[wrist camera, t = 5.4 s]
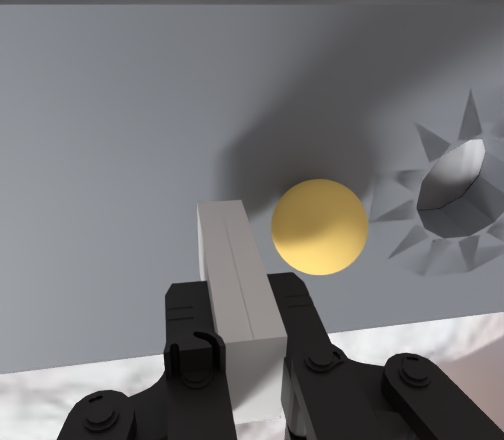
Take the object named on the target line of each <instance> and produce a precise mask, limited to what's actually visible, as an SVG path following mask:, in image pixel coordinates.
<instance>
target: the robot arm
mask: <svg viewBox="0 0 504 440" xmlns="http://www.w3.org/2000/svg"><path fill="white" fill-rule="evenodd" d="M197 217H198V243H199V269H200V277H201V281H195V282H184V283H172V284H171V286H170V288H169V289H168V291H167V293H166V295H165V320H166V344H165V348H164V352H163V354H164V365H165V371H164V373H163V375H162V377H161V378H160V379H159V380H158V382H156V383H155V384H154V385H153V386H151V387H150V388H148V389H146V390H144V391H142V392H140V393H138V394H135V395H133V396H130V397H127V396H126V395H125V394H123V393H122V392H118V391H114V390H104V391H97V392H95V393H92V394H90V395H87V396H85V397H84V398H83V399H82V400H80V401H79V402H78V403H76V404H75V406H74V407H73V409H72V410H71V411H70V413H69V414H68V416H67V419H66V421H65V423H64V425H63V427H62V429H61V431H60V434H59V436H58V438H57V440H237V435H236V429H235V424H239V423H247V422H254V421H261V420H268V419H276V418H281V409H282V407H283V410H284V414H285V418H286V429H285V440H504V432H503V431H502V430H501V429H500V428H499V427H498V426H497V425H496V424H495V423H494V422H493V421H492V420H491V419H490V418H489V417H488V416H487V415H486V414H485V413H484V412H483V411H482V410H481V409H480V408H479V407H478V406H477V405H476V404H475V403H474V402H473V401H472V400H471V399H470V398H469V397H468V396H467V395H466V394H465V393H464V392H463V391H462V390H461V389H460V388H459V387H458V386H457V385H456V384H455V383H454V382H453V381H452V380H451V379H450V378H449V377H448V376H447V375H446V374H445V373H444V372H443V371H442V370H441V369H440V368H439V367H438V366H437V365H435V364H434V363H433V362H431V361H430V360H429V359H427V358H424V357H422V356H420V355H417V354H411V353H401V354H395V355H394V356H392V357H390V358H389V359H388V360H387V362H386V364H385V366H378V365H371V364H364V363H360V362H356V361H353V360H351V359H348V358H347V356H346V355H345V354H344V352H343V351H342V350H341V349H339V348H338V347H336V346H335V345H333V344H332V343H331V341H330V339H329V337H328V335H327V332H326V330H325V328H324V326H323V323H322V321H321V319H320V316H319V314H318V312H317V310H316V307H315V306H314V303H313V301H312V298H311V296H310V294H309V292H308V289H307V287H306V285H305V283H304V281H303V280H301V279H300V278H299V277H298V276H297V275H296V274H295V273H293V272H286V273H274V274H266V271H265V268H264V265H263V262H262V259H261V256H260V253H259V251H258V248H257V245H256V242H255V239H254V236H253V233H252V230H251V227H250V224H249V221H248V218H247V215H246V212H245V209H244V206H243V203H242V200H230V201H213V202H197Z"/></svg>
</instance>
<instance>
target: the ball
mask: <svg viewBox="0 0 504 440" xmlns="http://www.w3.org/2000/svg"><path fill="white" fill-rule="evenodd" d="M271 233H272V238H273V242H274V244H275V247H276V249H277V251H278V252H279V254H280V255H281V257H282V258H283V259H284V260H285V261H286V262H287V263H288V264H289V265H291V266H292V267H294V268H295V269H297V270H299V271H301V272H304V273H307V274H312V275H328V274H332V273H335V272H338V271H341V270H343V269H344V268H346V267H348V266H349V265H350V264H351V263H353V262H354V261H355V260H356V258H357V257H358V256H359V255H360V253H361V251H362V250H363V248H364V246H365V243H366V240H367V235H368V219H367V215H366V211H365V209H364V207H363V205H362V203H361V201H360V200H359V198H358V197H357V196H356V195H355V194H354V193H353V192H352V191H351V190H350V189H348V188H347V187H345V186H344V185H342V184H340V183H338V182H335V181H331V180H327V179H313V180H307V181H304V182H301V183H299V184H297V185H295V186H294V187H292V188H291V189H289V190H288V191H287V192H286V193H285V194H284V195H283V196H282V197H281V199H280V200H279V201H278V203H277V205H276V207H275V210H274V212H273V216H272V222H271Z"/></svg>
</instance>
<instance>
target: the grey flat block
mask: <svg viewBox="0 0 504 440" xmlns="http://www.w3.org/2000/svg"><path fill="white" fill-rule="evenodd" d="M474 139H483V143H484V146H485V150H486V153H485V157H484V160H483V164H482V167H481V171H480V174H479V176H478V178H477V179H476V180H475V181H474V182H473V184H472V185H471V186H470V187H469V188H468V190H467V191H466V192H465V193H464V195H463V196H462V197H460V198H458V199H456V200H454V201H453V202H451V203H449V204H447V205H446V206H444V207H442V208H440V209H432V210H420V211H417V209H416V207H417V202H418V198H419V193H420V188H421V184H422V181H423V179H424V178H425V177H426V176H427V174H428V173H429V172H430V170H431V169H432V168H433V167H434V165H435V164H436V163H437V161H438V160H439V159H440V158H441V156H442V155H444V154H446V153H448V152H449V151H451V150H453V149H455V148H456V147H458V146H460V145H462V144H463V143H465V142H467V141H469V140H474ZM313 179H327V180H331V181H335V182H338V183H340V184H342V185H344V186H345V187H347V188H348V189H350V190H351V191H352V192H353V193H354V194H355V195H356V196H357V197H358V198H359V200H360V201H361V203H362V205H363V207H364V209H365V211H366V215H367V219H368V235H367V240H366V243H365V246H364V248H363V250H362V251H361V253H360V255H359V256H358V257H357V258H356V260H355V261H354V262H353V263H351V264H350V265H349V266H348V267H346V268H344V269H343V270H341V271H338V272H335V273H332V274H328V275H312V274H307V273H304V272H301V271H299V270H297V269H295V268H294V267H292V266H291V265H289V264H288V263H287V262H286V261H285V260H284V259H283V258H282V257H281V255H280V254H279V252H278V251H277V249H276V247H275V244H274V242H273V238H272V233H271V222H272V216H273V212H274V210H275V207H276V205H277V203H278V201H279V200H280V199H281V197H282V196H283V195H284V194H285V193H286V192H287V191H288V190H289V189H291V188H292V187H294V186H295V185H297V184H299V183H301V182H304V181H307V180H313ZM230 200H242V203H243V206H244V209H245V212H246V215H247V218H248V221H249V224H250V227H251V230H252V233H253V236H254V239H255V242H256V245H257V248H258V251H259V253H260V256H261V259H262V262H263V265H264V268H265V271H266V274H274V273H286V272H293V273H295V274H296V275H297V276H298V277H299V278H300V279H301V280H303V281H304V283H305V285H306V287H307V289H308V292H309V294H310V296H311V298H312V301H313V303H314V306H315V307H316V310H317V312H318V314H319V316H320V319H321V321H322V323H323V326H324V328H325V330H326V332H327V334H328V333H336V332H344V331H352V330H360V329H368V328H377V327H385V326H393V325H401V324H409V323H417V322H425V321H433V320H441V319H449V318H457V317H465V316H473V315H481V314H489V313H497V312H504V0H0V374H7V373H15V372H23V371H31V370H39V369H47V368H55V367H63V366H71V365H79V364H87V363H95V362H103V361H111V360H120V359H128V358H136V357H144V356H152V355H160V354H163V352H164V348H165V344H166V320H165V295H166V293H167V291H168V289H169V288H170V286H171V284H172V283H184V282H195V281H201V277H200V269H199V243H198V217H197V202H213V201H230Z"/></svg>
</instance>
